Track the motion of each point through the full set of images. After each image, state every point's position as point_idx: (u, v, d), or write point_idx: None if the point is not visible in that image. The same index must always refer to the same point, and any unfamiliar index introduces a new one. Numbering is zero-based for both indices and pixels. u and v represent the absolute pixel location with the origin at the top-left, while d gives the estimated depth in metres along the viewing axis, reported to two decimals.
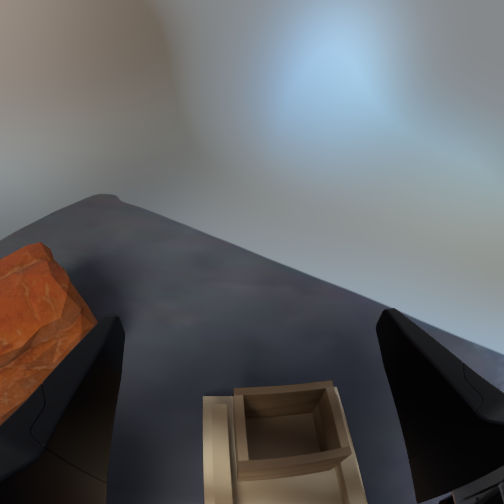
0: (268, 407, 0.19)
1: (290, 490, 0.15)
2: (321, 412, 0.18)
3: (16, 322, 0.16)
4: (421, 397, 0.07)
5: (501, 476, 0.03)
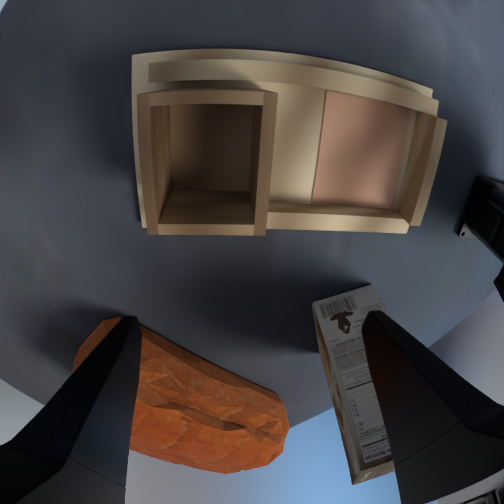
0: (164, 171, 0.15)
1: (279, 140, 0.17)
2: None
3: (163, 424, 0.21)
4: (405, 402, 0.07)
5: (487, 487, 0.03)
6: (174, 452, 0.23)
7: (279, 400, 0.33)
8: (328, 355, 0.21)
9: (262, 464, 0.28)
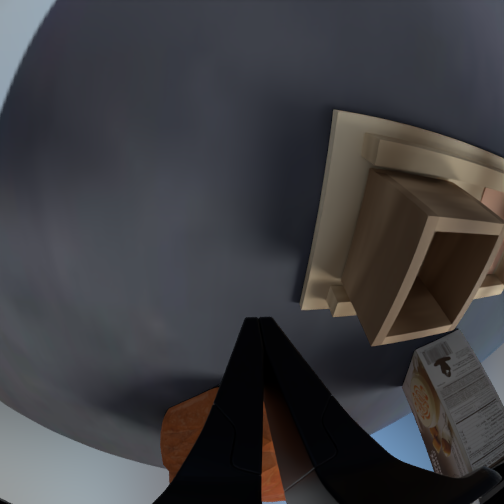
0: None
1: None
2: None
3: None
4: (280, 427, 0.06)
5: None
6: None
7: None
8: (437, 397, 0.19)
9: None
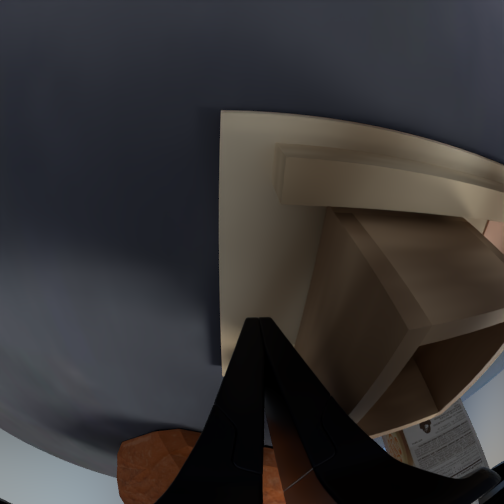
0: None
1: None
2: None
3: None
4: (279, 427, 0.06)
5: None
6: None
7: None
8: (411, 457, 0.15)
9: None
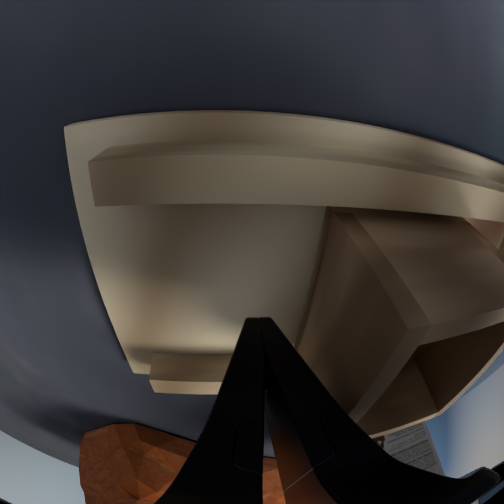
0: None
1: None
2: None
3: None
4: (279, 427, 0.06)
5: None
6: None
7: None
8: None
9: None
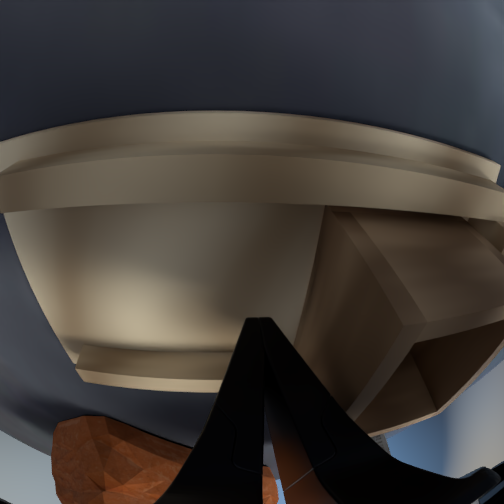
0: None
1: (238, 281, 0.10)
2: None
3: None
4: (279, 427, 0.06)
5: None
6: None
7: (270, 475, 0.27)
8: None
9: None
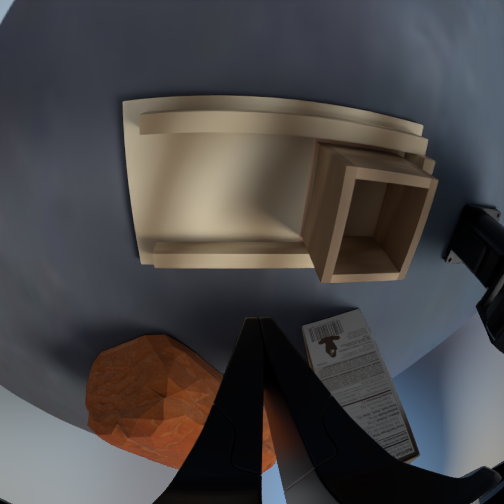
0: None
1: (268, 185, 0.18)
2: None
3: None
4: (280, 427, 0.06)
5: None
6: None
7: None
8: None
9: None
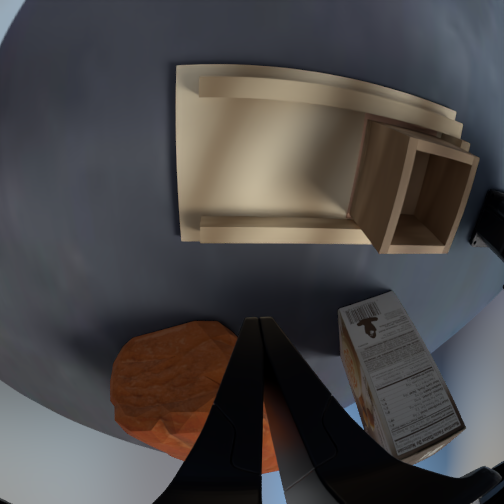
0: None
1: (321, 159, 0.18)
2: None
3: None
4: (279, 427, 0.06)
5: None
6: None
7: None
8: (357, 359, 0.22)
9: (278, 469, 0.30)
